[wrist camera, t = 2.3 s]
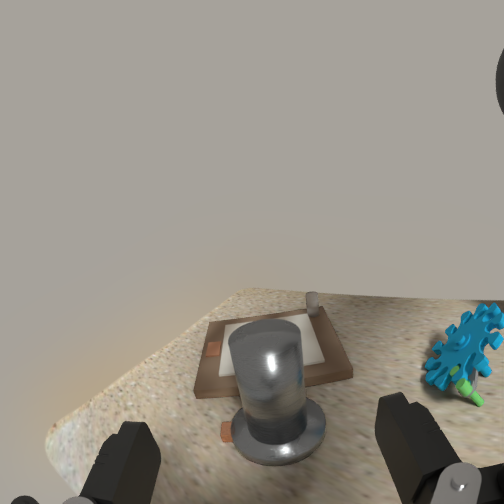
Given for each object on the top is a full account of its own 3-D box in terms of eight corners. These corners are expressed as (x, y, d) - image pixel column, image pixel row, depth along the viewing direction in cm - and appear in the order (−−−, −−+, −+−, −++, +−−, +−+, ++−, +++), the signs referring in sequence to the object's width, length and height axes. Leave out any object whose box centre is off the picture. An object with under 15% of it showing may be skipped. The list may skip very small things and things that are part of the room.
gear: (429, 330, 30) (496, 281, 23) (457, 360, 29) (522, 317, 22) (407, 405, 23) (500, 358, 16) (440, 436, 21) (528, 398, 15)
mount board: (322, 313, 43) (321, 286, 42) (352, 377, 28) (353, 344, 27) (211, 329, 43) (205, 302, 42) (196, 398, 29) (185, 367, 28)
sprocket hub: (317, 394, 27) (311, 303, 25) (333, 456, 19) (335, 359, 17) (226, 406, 27) (203, 318, 25) (220, 470, 20) (186, 378, 17)
